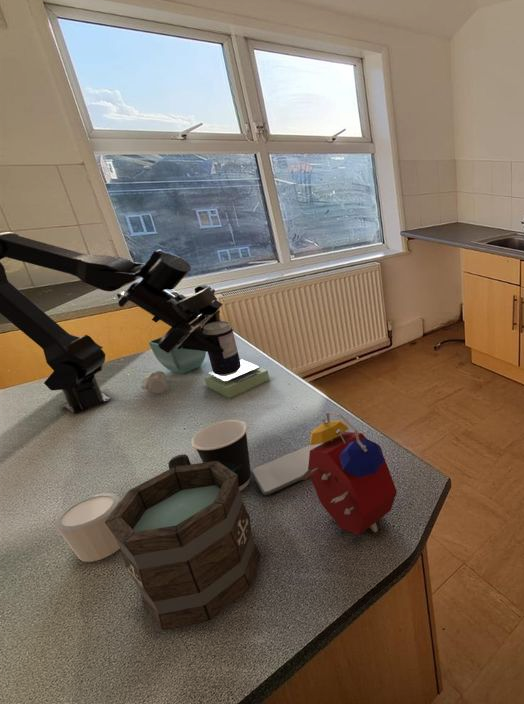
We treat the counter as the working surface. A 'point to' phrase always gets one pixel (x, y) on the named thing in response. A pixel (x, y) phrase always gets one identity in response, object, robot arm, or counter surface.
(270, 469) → the smartphone
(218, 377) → the pan
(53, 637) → the counter surface
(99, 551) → the white tapered cup
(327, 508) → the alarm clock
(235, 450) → the dixie cup
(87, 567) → the counter surface
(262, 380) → the scale
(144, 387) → the pale two-lobed sculpture
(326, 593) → the counter surface
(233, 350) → the beverage can
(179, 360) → the flower pot
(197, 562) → the mug
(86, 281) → the robot arm
